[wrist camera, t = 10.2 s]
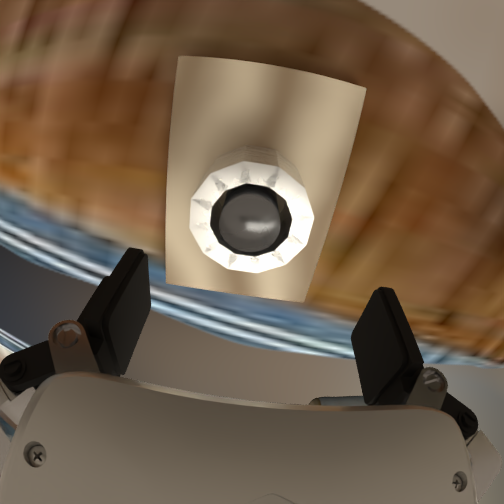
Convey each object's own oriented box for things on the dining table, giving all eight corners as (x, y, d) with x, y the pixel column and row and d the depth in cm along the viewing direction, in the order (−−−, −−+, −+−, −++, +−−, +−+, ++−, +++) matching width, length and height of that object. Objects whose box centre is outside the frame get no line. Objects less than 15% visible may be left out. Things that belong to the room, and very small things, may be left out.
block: (359, 87, 17) (366, 88, 16) (301, 291, 27) (303, 302, 26) (184, 57, 16) (178, 55, 15) (170, 272, 26) (166, 283, 25)
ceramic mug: (313, 387, 36) (318, 438, 30) (368, 386, 37) (377, 433, 30) (296, 418, 42) (298, 460, 36) (343, 416, 43) (348, 456, 36)
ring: (313, 156, 19) (325, 175, 15) (291, 245, 22) (296, 278, 19) (207, 139, 18) (194, 154, 15) (198, 231, 22) (187, 263, 19)
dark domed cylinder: (280, 176, 19) (286, 203, 16) (271, 220, 21) (273, 255, 18) (230, 168, 19) (222, 193, 15) (224, 213, 21) (216, 247, 17)
